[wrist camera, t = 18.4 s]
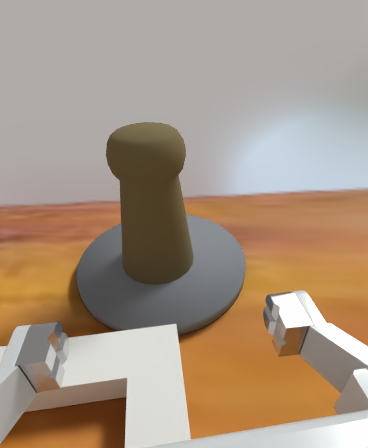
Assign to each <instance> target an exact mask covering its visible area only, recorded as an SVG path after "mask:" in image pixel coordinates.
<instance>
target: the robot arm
mask: <svg viewBox="0 0 368 448" xmlns="http://www.w3.org/2000/svg"><path fill="white" fill-rule="evenodd" d="M266 303H267V306H266V307H265V308H264V312H263V316H264V322H265V326H266V328H267V331H268V332H269V333H270V334H272V335H273V339H272V343H273V345H274V347H275V349H276V352H277V354H278V356H279V357H281V356H290V355H298V354H300V356H301V357H302V358H303V359H304V360H305V361H306V362H307V363H308V364H310V365H311V366H312V367H313V368H314V369H315V370H316V371H317V372H318V373H319V374H321V375H322V376H323V377H324V378H325V379H326V380H327V381H328V382H329V383H331V384H332V385H333V386H334V387H335V388H336V389H337V390H338V391H339V392H340V393H341V394H340V396H339V398H338V400H337V402H336V403H335V406H334V408H335V410H336V412H337V414H338V415H334V416H328V417H322V418H316V419H310V420H304V421H298V422H292V423H286V424H280V425H274V426H269V427H263V428H257V429H251V430H245V431H239V432H233V433H227V434H221V435H215V436H209V437H203V438H197V439H191V440H185V441H179V442H173V443H167V444H161V445H155V446H149V447H144V448H368V347H367V346H366V345H364V344H363V343H361V342H360V341H358V340H356V339H355V338H353V337H352V336H350V335H349V334H347V333H345V332H344V331H342V330H341V329H339V328H338V327H336V326H334V325H333V324H331V323H326V321H325V320H324V318H323V317H322V315H321V314H320V312H319V311H318V309H317V308H316V306H315V305H314V303H313V301H312V300H311V298H310V297H309V295H308V294H307V292H306V291H304V290H301V291H294V292H284V293H277V294H270V295H267V297H266ZM62 330H63V326H62V324H61V322H53V323H43V324H34V325H25V326H18V327H17V328H16V329H15V330H14V332H13V334H12V336H11V339H10V341H9V343H8V346H7V348H6V350H5V353H4V355H3V357H2V360H1V362H0V444H1V442H2V441H3V440H4V438H5V437H6V436H7V434H8V433H9V432H10V430H11V429H12V428H13V426H14V425H15V424H16V422H17V421H18V419H19V418H20V417H21V415H22V414H23V413H24V411H25V410H26V409H27V407H28V406H29V405H30V403H31V402H32V401H33V399H34V398H35V396H36V395H37V393H40V392H45V391H51V390H57V389H61V385H62V381H63V377H64V372H65V370H64V368H63V366H62V365H63V364H64V363H65V361H66V360H67V359H68V354H69V341H68V337H67V335H66V334H65V333H63V332H62Z"/></svg>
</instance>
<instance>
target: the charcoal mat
mask: <svg viewBox="0 0 368 448" xmlns="http://www.w3.org/2000/svg"><path fill="white" fill-rule="evenodd" d="M186 218H187V223H188V229H189V234H190V239H191V244H192V250H193V255H194V259H193V265H192V266H191V268H190V269H189V271H188V272H187V273H186V274H184V275H183V276H182V277H181V278H179V279H177V280H174V281H172V282H170V283H164V284H159V285H152V284H143V283H140V282H137V281H134V280H133V279H132V278H130V277H129V276H128V275H127V274H126V273H125V271H124V269H123V259H122V230H121V224H118V225H116V226H114V227H112V228H111V229H109V230H107V231H106V232H104V233H103V234H101V235H100V236H99V237H98V238H96V239H95V240H94V241H93V242H92V243H91V244H90V245H89V247H88V248H87V249H86V251H85V252H84V253H83V255H82V257H81V259H80V262H79V264H78V268H77V274H76V278H77V286H78V290H79V293H80V296H81V298H82V301H83V303H84V305H85V307H86V308H87V310H88V311H89V312H90V314H91V315H92V316H93V317H94V318H95V319H97V320H98V321H99V322H100V323H102V324H103V325H105V326H106V327H108V328H110V329H113V330H115V331H125V330H132V329H140V328H147V327H155V326H163V325H170V324H176V325H177V333H178V335H183V334H186V333H189V332H192V331H195V330H198V329H200V328H202V327H204V326H206V325H208V324H210V323H212V322H213V321H215V320H216V319H218V318H219V317H220V316H222V315H223V314H224V313H225V312H226V311H227V310H228V309H229V308H230V307H231V306H232V305H233V304H234V302H235V301H236V299H237V298H238V296H239V294H240V291H241V289H242V286H243V282H244V276H245V257H244V253H243V251H242V248H241V246H240V245H239V243H238V242H237V240H236V239H235V238H234V237H233V236H232V235H231V234H230V233H229V232H228V231H227V230H225V229H224V228H222V227H221V226H219V225H217V224H215V223H213V222H211V221H209V220H206V219H203V218H200V217H196V216H192V215H186Z"/></svg>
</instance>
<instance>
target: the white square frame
mask: <svg viewBox="0 0 368 448" xmlns="http://www.w3.org/2000/svg"><path fill="white" fill-rule="evenodd" d="M68 341H69V354H68V359H67V360H66V361H65V363H64V364H63V365H62V366H63V368H64V370H65V372H64V377H63V381H62V385H61V389H57V390H51V391H45V392H40V393H37V395H36V396H35V398H34V399H33V401H32V402H31V403H30V405H29V406H28V407H27V409H26V410H25V411H24V412H30V411H37V410H43V409H50V408H57V407H63V406H70V405H76V404H83V403H90V402H96V401H103V400H110V399H116V398H123V397H127V398H126V426H125V448H144V447H149V446H155V445H161V444H167V443H173V442H179V441H185V440H191V437H190V429H189V421H188V413H187V405H186V397H185V389H184V381H183V373H182V365H181V357H180V349H179V341H178V333H177V325H176V324H170V325H163V326H155V327H147V328H140V329H132V330H125V331H117V332H109V333H102V334H94V335H86V336H79V337H71V338H68ZM6 348H7V346H2V347H0V362H1V360H2V357H3V355H4V353H5V350H6Z"/></svg>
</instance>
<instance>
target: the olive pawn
mask: <svg viewBox="0 0 368 448" xmlns="http://www.w3.org/2000/svg"><path fill="white" fill-rule="evenodd" d="M106 157H107V162H108V165H109V167H110V169H111V171H112V173H113V174H114V175H115V176H116V178H118V179H119V180H120V200H121V230H122V259H123V269H124V271H125V273H126V274H127V275H128V276H129V277H130V278H132V279H133V280H134V281H137V282H140V283H143V284H152V285H159V284H164V283H170V282H172V281H174V280H177V279H179V278H181V277H182V276H183V275H184V274H186V273H187V272H188V271H189V269H190V268H191V266H192V265H193V259H194V255H193V250H192V244H191V239H190V234H189V229H188V223H187V218H186V213H185V207H184V202H183V197H182V191H181V186H180V181H179V176H178V175H179V173H180V172H181V170H182V169H183V165H184V161H185V157H186V149H185V144H184V140H183V138H182V137H181V135H180V134H179V132H178V131H177V129H175V128H173V127H171V126H169V125H167V124H162V123H152V122H151V123H150V122H144V123H136V124H131V125H127V126H124V127H121V128H119V129H117V130H116V131H115V132H113V133H112V134H111V135H110V137H109V139H108V142H107V150H106Z"/></svg>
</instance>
